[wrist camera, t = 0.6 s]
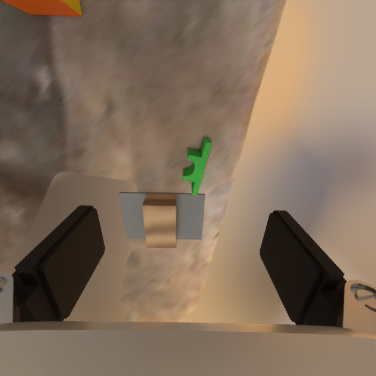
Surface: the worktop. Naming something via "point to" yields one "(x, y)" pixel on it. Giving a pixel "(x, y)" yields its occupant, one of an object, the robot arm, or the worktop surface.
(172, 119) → the worktop surface
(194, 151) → the green notched block
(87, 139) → the worktop surface
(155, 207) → the base brick
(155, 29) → the worktop surface
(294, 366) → the robot arm
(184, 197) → the mat
